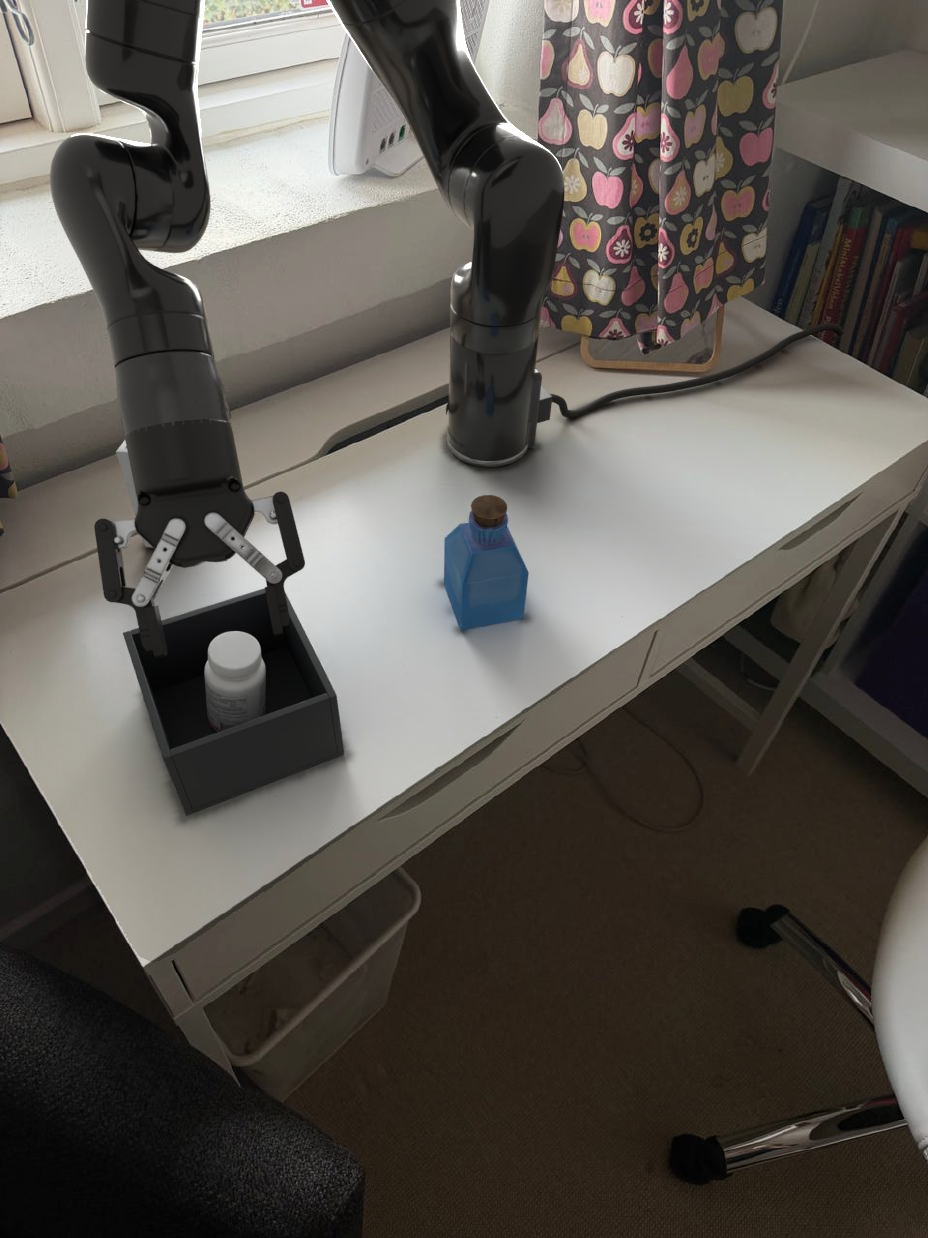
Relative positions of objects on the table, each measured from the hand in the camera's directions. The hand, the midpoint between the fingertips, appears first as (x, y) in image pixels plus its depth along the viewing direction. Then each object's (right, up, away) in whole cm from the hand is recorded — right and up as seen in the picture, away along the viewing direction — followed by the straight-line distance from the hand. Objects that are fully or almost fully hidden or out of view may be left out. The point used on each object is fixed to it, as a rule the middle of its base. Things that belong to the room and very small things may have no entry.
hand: (221, 645), depth 65 cm
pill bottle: (-1, -6, +9) cm, 11 cm away
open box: (-1, -7, +10) cm, 12 cm away
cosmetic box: (-11, +11, +25) cm, 30 cm away
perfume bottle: (+20, +4, +20) cm, 28 cm away
